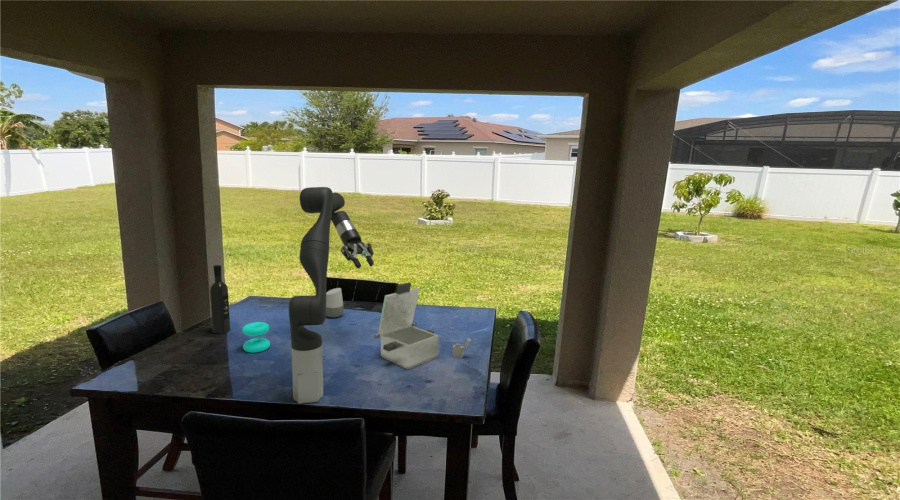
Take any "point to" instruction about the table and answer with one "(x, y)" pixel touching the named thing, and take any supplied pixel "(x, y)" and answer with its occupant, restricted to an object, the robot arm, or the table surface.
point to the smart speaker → (334, 303)
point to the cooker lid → (398, 309)
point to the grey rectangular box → (409, 346)
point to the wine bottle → (219, 303)
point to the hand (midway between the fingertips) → (365, 266)
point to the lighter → (459, 349)
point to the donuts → (256, 343)
